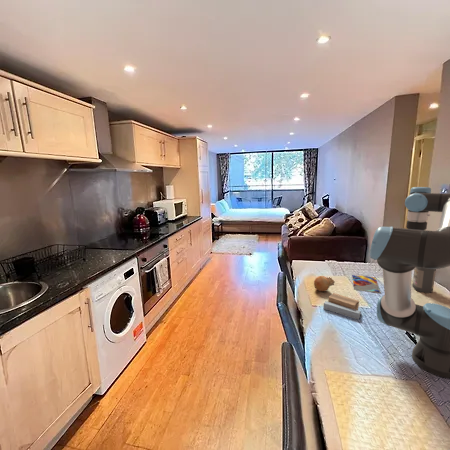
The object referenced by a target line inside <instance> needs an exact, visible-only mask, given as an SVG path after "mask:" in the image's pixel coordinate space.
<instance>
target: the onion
mask: <svg viewBox="0 0 450 450" xmlns="http://www.w3.org/2000/svg"><path fill="white" fill-rule="evenodd" d="M327 278H328V277H326V276H324V275H320V276H317V277H315V279H314V281H313V286H314V288H315V290H317V291H319V292H323V293H324V292H326V291H328V290H329V289H330V287H329V286H331V285H330V283H329V280H328V279H327Z"/></svg>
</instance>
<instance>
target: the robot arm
mask: <svg viewBox="0 0 450 450" xmlns="http://www.w3.org/2000/svg"><path fill="white" fill-rule="evenodd" d="M404 200H405V201H404V206H405V208H406V209H407V218H406V219H407V220H406V227H405V228H403V227H394V226H392V225H391V226H379V227H378V228H376V229H375V231H374V234H373V236H372V237H373V238H372V240H371V245H370V250H369V257H370V259H372V260H374V261H376V263H377V264H378V266H379V268H380V269H382V278H383V280H382V281H383V289H384V290H383V291H384V295H381V296H380V297H379V298H378V299H377V304H376V317H377V319H378V321H379V322H380V323H382V324H384V325H385V326H388V327H393V328H395V329H398V330H402V331H405V332H408V333H410V334H413V335H414V334H415V335H417V336H419V340H418V341H417V343H416V344H415V346H414V347H413V348H412V352H411V357H412V360H413V362H414V363H415V364H416V365H418V366H419V367H420V368H421V369H423V370H424V371H426V372H428V373H430V374H433V375H434V376H437V377H441V378H445V379H450V308H449V307H447V306H445V305H441V304H438V303H434V302H433V303H431V302H427V303H425V304H423V305H420V304H416V303H415V301H414V299H413V298H412V282H413V277H412V275H413V271H414V270H415V268H416V267H421V268H427V269H436V270H438V269H439V270H440V269H445V268H448V267H450V193H443V192H442V193H439V192H438V193H436V192H435V193H434V192H433V193H432V188H431V187H429V186H428V187H427V186H413V187H411V188H410V191H409V195H408V196H407V197H406V198H405V199H404ZM429 212H434V213H436V212H437V213H441V215H440V220H439V223H438V228H437V229H436V230H427V227H428V222H427V221H428V219H429V217H430V216H431V214H429Z"/></svg>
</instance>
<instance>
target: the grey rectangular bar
mask: <svg viewBox="0 0 450 450" xmlns="http://www.w3.org/2000/svg"><path fill="white" fill-rule="evenodd" d="M323 309H324V310H327V311H330V312H331V313H335V312H336V314H338V315H343V316H346V317H347V318H348V317H349V318H351V319H355V320H359V319H360V317H361V311H360V310H359V309H358V310H355V309H351V308H348V307H344V306H341V305H337V304H334V303H330V302H328V301H327V300H325V301H324V302H323Z"/></svg>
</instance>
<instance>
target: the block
mask: <svg viewBox="0 0 450 450" xmlns="http://www.w3.org/2000/svg"><path fill="white" fill-rule="evenodd" d="M327 302H330V303H334V304H337V305H341V306H344V307H348V308H351V309H355V310H358V311H359V305H360V303H359V302H360V301H359V300H358V299H355V298H352V297H349V296H346V295H341V294H338V293H336V292H333V293H331V295H329V296H328V301H327Z"/></svg>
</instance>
